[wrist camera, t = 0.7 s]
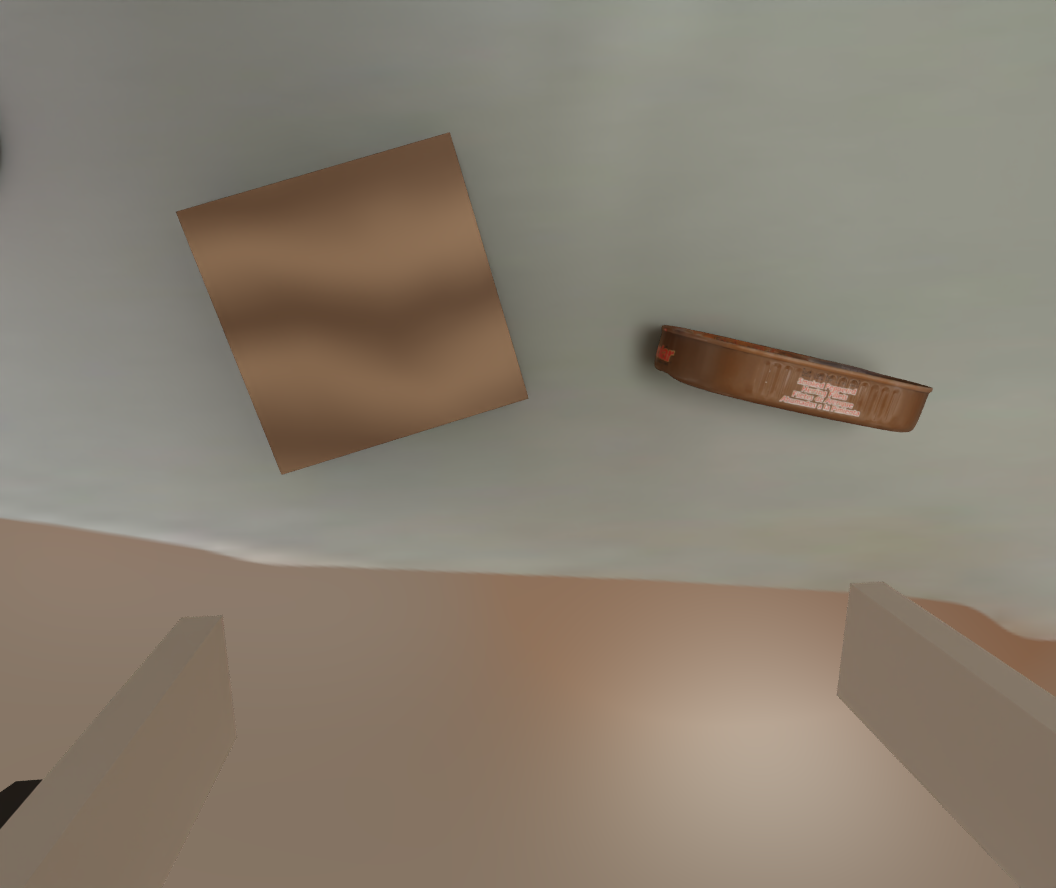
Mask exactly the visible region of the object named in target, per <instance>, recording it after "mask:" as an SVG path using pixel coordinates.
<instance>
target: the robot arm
mask: <svg viewBox="0 0 1056 888" xmlns="http://www.w3.org/2000/svg"><path fill="white" fill-rule="evenodd" d="M837 696H838V697H839V698H840V699H841V700H842V701H843V702H844V703H845V704H846V705H847V706H848V708H849V709H850V710H851V711H852V712H853V713H854V714H855V715H856V716H857V717H858V718H859V719H860V720H861V721H862V722H863V723H864V724H865V725H866V727H867V728H868V729H869V730H870V731H871V732H872V733H873V734H874V735H875V736H876V737H877V738H878V739H879V740H880V741H881V742H882V743H883V744H884V745H885V746H886V748H887V749H888V750H889V751H890V752H891V753H892V754H893V755H894V756H895V757H896V758H897V759H898V760H899V761H900V762H901V763H902V764H903V765H904V766H905V768H906V769H908V771H909V772H910V773H911V774H912V775H913V776H914V777H915V778H916V779H917V780H918V781H919V782H920V783H921V784H922V785H923V786H924V787H925V788H926V790H927V791H928V792H929V793H930V794H931V795H932V796H933V797H934V798H935V799H936V800H937V801H938V802H939V803H940V804H941V805H942V806H943V807H944V808H945V810H946V811H948V813H949V814H950V815H951V816H952V817H953V818H954V819H955V820H956V821H957V822H958V823H959V824H960V825H961V826H962V827H963V828H964V830H965V831H966V832H967V833H968V834H969V835H970V836H971V837H972V838H973V839H974V840H975V841H976V842H977V843H978V844H979V845H980V846H981V847H982V848H983V849H984V850H985V852H986V853H987V854H988V855H989V856H990V857H991V858H992V859H993V860H994V861H995V862H996V863H997V864H998V865H999V866H1000V867H1001V868H1002V869H1003V870H1004V871H1005V872H1006V874H1007V875H1008V876H1009V877H1010V878H1011V879H1012V880H1013V881H1014V882H1015V883H1016V884H1017V885H1018V886H1019V887H1020V888H1056V697H1054V696H1053V695H1051V694H1050V693H1049V692H1047V691H1046V690H1044V689H1043V688H1041V687H1039V686H1038V685H1037V684H1035V683H1033V682H1032V681H1031V680H1029V679H1028V678H1026V677H1025V676H1023V675H1022V674H1020V673H1019V672H1017V671H1016V670H1014V669H1012V668H1011V667H1010V666H1008V665H1007V664H1005V663H1004V662H1002V661H1001V660H999V659H998V658H996V657H995V656H993V655H992V654H990V653H989V652H987V651H986V650H984V649H983V648H981V647H980V646H978V645H977V644H975V643H974V642H972V641H971V640H969V639H968V638H966V637H965V636H963V635H962V634H960V633H959V632H957V631H956V630H954V629H953V628H951V627H950V626H949V625H947V624H946V623H944V622H942V621H941V620H940V619H938V618H936V617H935V616H933V615H932V614H931V613H929V612H928V611H926V610H925V609H923V608H922V607H920V606H919V605H917V604H916V603H914V602H913V601H911V600H910V599H908V598H907V597H905V596H904V595H902V594H901V593H899V592H898V591H896V590H895V589H893V588H892V587H890V586H889V585H887V584H886V583H884V582H869V583H850V591H849V600H848V607H847V616H846V625H845V632H844V640H843V648H842V657H841V665H840V673H839V681H838V690H837ZM236 738H237V733H236V725H235V716H234V708H233V700H232V691H231V683H230V674H229V666H228V658H227V649H226V641H225V633H224V625H223V616H221V615H220V616H202V617H182V618H181V619H180V620H179V621H178V622H177V623H176V625H175V626H174V627H173V628H172V629H171V631H170V632H169V633H168V634H167V635H166V637H164V639H163V640H162V641H161V642H160V643H159V644H158V646H157V647H156V648H155V649H154V650H153V651H152V653H151V654H150V655H149V656H148V657H147V658H146V660H145V661H144V662H143V663H142V664H141V665H140V667H139V668H138V669H137V670H136V671H135V672H134V674H133V675H132V676H131V677H130V678H129V679H128V681H127V682H126V683H125V684H124V685H123V686H122V688H121V689H120V690H119V691H118V692H117V693H116V695H115V696H114V697H113V698H112V699H111V700H110V702H109V703H108V704H107V705H106V706H105V708H104V709H103V710H102V711H101V712H100V713H99V715H98V716H97V717H96V718H95V719H94V720H93V721H92V723H91V724H90V725H89V726H88V727H87V729H86V730H85V731H84V732H83V733H82V734H81V736H80V737H79V738H78V739H77V740H76V741H75V743H74V744H73V745H72V746H71V747H70V748H69V750H68V751H67V752H66V753H65V754H64V755H63V757H62V758H61V759H60V760H59V761H58V762H57V764H56V765H55V766H54V767H53V768H52V769H51V771H50V772H49V773H48V774H47V775H46V777H45V778H44V779H42V780H28V781H16V782H14V783H13V784H12V785H10V786H9V787H7V788H6V789H4V790H3V791H1V792H0V888H162V887H163V885H164V883H165V881H166V879H167V877H168V875H169V873H170V871H171V869H172V867H173V865H174V863H175V861H176V859H177V857H178V855H179V853H180V851H181V849H182V847H183V845H184V843H185V841H186V839H187V837H188V835H189V833H190V831H191V829H192V827H193V825H194V823H195V821H196V819H197V817H198V815H199V813H200V811H201V809H202V807H203V805H204V803H205V800H206V798H207V797H208V794H209V793H210V791H211V788H212V787H213V785H214V783H215V781H216V778H217V776H218V775H219V773H220V771H221V769H222V766H223V764H224V762H225V760H226V758H227V756H228V754H229V752H230V750H231V748H232V746H233V744H234V742H235V740H236Z"/></svg>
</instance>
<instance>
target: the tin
mask: <svg viewBox="0 0 1056 888" xmlns="http://www.w3.org/2000/svg"><path fill="white" fill-rule="evenodd" d="M655 367H656V369H658V370H660V371H664V372H666V373H668V374H669V375H670V376H671V377H673V378H675V379H676V380H678V381H680V382H683V383H685V384H688V385H691V386H694V387H697V388H700V389H704V390H707V391H710V392H714V393H717V394H721V395H725V396H729V397H733V398H737V399H741V400H745V401H749V402H753V403H757V404H762V405H767V406H771V407H776V408H780V409H785V410H789V411H794V412H798V413H803V414H808V415H812V416H817V417H822V418H827V419H831V420H836V421H841V422H846V423H851V424H856V425H861V426H867V427H872V428H877V429H882V430H888V431H894V432H909V431H911V430H913V429H914V427H915V425H916V424H917V421H918V419H919V417H920V414H921V412H922V409H923V407H924V404H925V402H926V399H927V397H928V394H929V393H930V392H932V390H933V388H931V387H928V386H925V385H921V384H918V383H914V382H910V381H907V380H902V379H898V378H894V377H890V376H887V375H882V374H878V373H875V372H871V371H868V370H864V369H861V368H857V367H853V366H849V365H845V364H840V363H836V362H832V361H827V360H822V359H818V358H814V357H810V356H806V355H801V354H797V353H793V352H788V351H784V350H779V349H775V348H771V347H766V346H762V345H757V344H753V343H749V342H744V341H740V340H736V339H732V338H727V337H723V336H718V335H714V334H709V333H705V332H700V331H695V330H690V329H686V328H681V327H675V326H669V325H663V326H662V335H661V338H660V342H659V346H658V349H657V353H656V357H655Z"/></svg>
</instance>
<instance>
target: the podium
mask: <svg viewBox="0 0 1056 888" xmlns="http://www.w3.org/2000/svg"><path fill="white" fill-rule="evenodd" d="M176 213H177V216H178V218H179V221H180V223H181V226H182V228H183V231H184V233H185V236H186V238H187V241H188V243H189V246H190V248H191V251H192V253H193V256H194V258H195V261H196V263H197V266H198V268H199V271H200V273H201V276H202V278H203V281H204V283H205V286H206V288H207V290H208V293H209V295H210V298H211V300H212V303H213V305H214V308H215V310H216V313H217V315H218V318H219V320H220V323H221V325H222V328H223V330H224V333H225V335H226V338H227V340H228V343H229V345H230V348H231V350H232V353H233V355H234V358H235V360H236V363H237V365H238V368H239V370H240V373H241V375H242V378H243V380H244V382H245V385H246V387H247V390H248V392H249V395H250V397H251V400H252V402H253V405H254V407H255V410H256V412H257V415H258V417H259V420H260V422H261V425H262V427H263V430H264V432H265V435H266V437H267V440H268V442H269V445H270V447H271V450H272V452H273V455H274V457H275V460H276V462H277V465H278V467H279V470H280V472H281V474H282V475H283V474H286V473H289V472H292V471H295V470H299V469H302V468H305V467H308V466H312V465H315V464H318V463H321V462H325V461H328V460H331V459H334V458H337V457H341V456H344V455H347V454H350V453H354V452H357V451H360V450H363V449H367V448H370V447H373V446H376V445H379V444H383V443H386V442H389V441H392V440H396V439H399V438H402V437H405V436H409V435H412V434H415V433H418V432H421V431H425V430H428V429H431V428H434V427H438V426H441V425H444V424H447V423H451V422H454V421H457V420H460V419H463V418H467V417H470V416H473V415H476V414H480V413H483V412H486V411H489V410H493V409H496V408H499V407H502V406H505V405H509V404H512V403H515V402H518V401H522V400H525V399H528V395H527V391H526V388H525V385H524V381H523V378H522V374H521V371H520V368H519V364H518V361H517V358H516V354H515V351H514V347H513V344H512V341H511V337H510V334H509V331H508V327H507V324H506V320H505V317H504V314H503V310H502V307H501V304H500V300H499V297H498V294H497V290H496V287H495V283H494V280H493V277H492V273H491V270H490V267H489V263H488V260H487V256H486V253H485V250H484V246H483V243H482V240H481V236H480V233H479V229H478V226H477V223H476V219H475V216H474V213H473V209H472V206H471V203H470V199H469V196H468V192H467V189H466V186H465V182H464V179H463V176H462V172H461V169H460V165H459V162H458V159H457V155H456V152H455V149H454V145H453V142H452V138H451V135H450V132H449V133H446V134H442V135H439V136H435V137H432V138H428V139H425V140H422V141H418V142H415V143H411V144H408V145H404V146H401V147H397V148H394V149H391V150H387V151H384V152H380V153H377V154H373V155H370V156H366V157H363V158H360V159H356V160H353V161H349V162H346V163H342V164H339V165H335V166H332V167H329V168H325V169H322V170H318V171H315V172H311V173H308V174H304V175H301V176H298V177H294V178H291V179H287V180H284V181H280V182H277V183H273V184H270V185H267V186H263V187H260V188H256V189H253V190H249V191H246V192H242V193H239V194H236V195H232V196H229V197H225V198H222V199H218V200H215V201H211V202H208V203H205V204H201V205H198V206H194V207H191V208H187V209H184V210H181V211H177V212H176Z"/></svg>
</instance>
